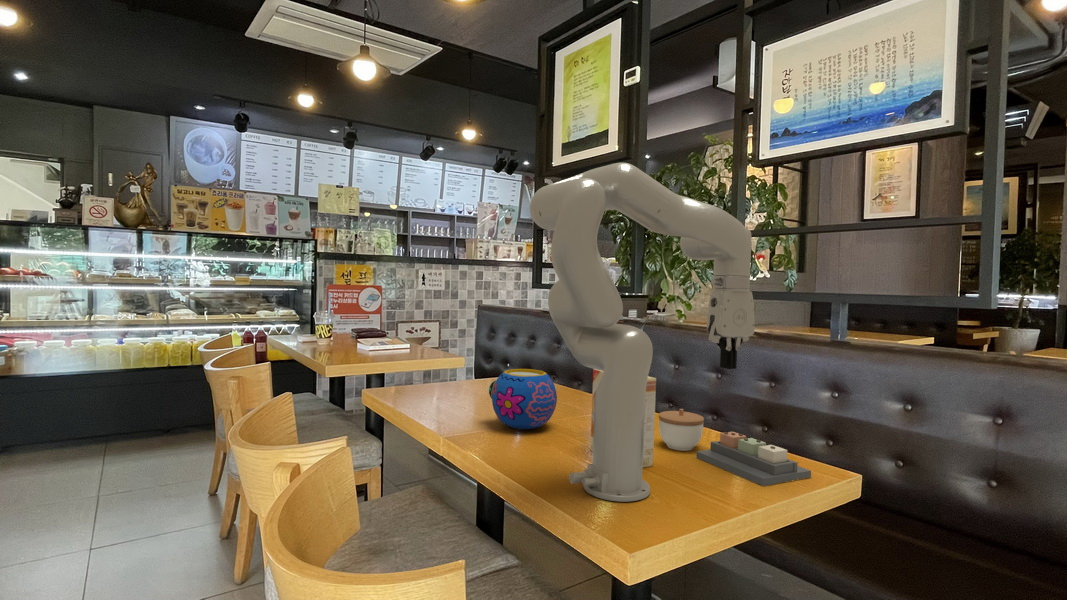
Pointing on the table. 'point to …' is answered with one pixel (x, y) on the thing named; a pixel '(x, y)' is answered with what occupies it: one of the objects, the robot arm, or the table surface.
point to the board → (752, 465)
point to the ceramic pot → (523, 398)
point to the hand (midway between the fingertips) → (728, 368)
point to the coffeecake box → (648, 416)
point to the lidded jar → (680, 429)
